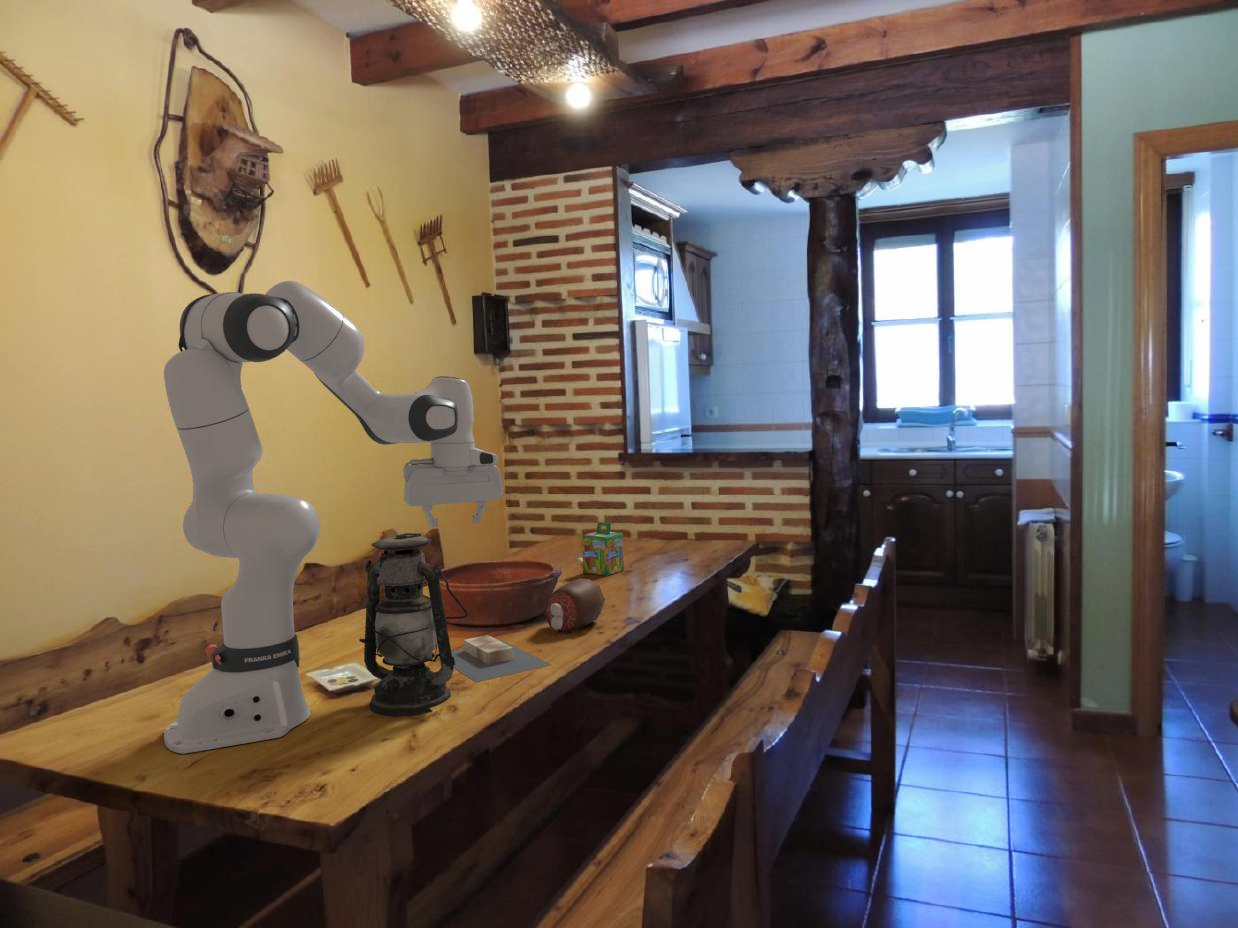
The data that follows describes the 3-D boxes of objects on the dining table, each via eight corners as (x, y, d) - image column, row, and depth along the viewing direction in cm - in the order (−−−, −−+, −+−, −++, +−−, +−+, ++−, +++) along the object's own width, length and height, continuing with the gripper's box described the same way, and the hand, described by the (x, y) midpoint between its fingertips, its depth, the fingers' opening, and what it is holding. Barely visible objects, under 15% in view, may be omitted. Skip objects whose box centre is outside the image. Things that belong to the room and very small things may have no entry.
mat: (476, 685, 164) (476, 682, 164) (432, 657, 182) (432, 654, 182) (551, 667, 172) (551, 664, 172) (503, 642, 191) (502, 640, 191)
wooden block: (487, 652, 174) (463, 639, 184) (488, 664, 174) (464, 650, 184) (512, 647, 177) (487, 634, 187) (513, 659, 177) (488, 645, 187)
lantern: (340, 710, 153) (329, 540, 151) (405, 675, 171) (396, 523, 168) (432, 721, 146) (422, 543, 144) (489, 684, 164) (481, 525, 162)
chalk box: (582, 573, 260) (580, 524, 259) (600, 567, 268) (598, 519, 267) (607, 576, 255) (605, 526, 254) (625, 570, 262) (623, 521, 261)
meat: (578, 641, 191) (576, 595, 190) (532, 637, 196) (529, 592, 194) (616, 616, 209) (614, 574, 208) (573, 613, 214) (571, 572, 213)
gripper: (408, 460, 170) (411, 531, 171) (505, 455, 181) (507, 522, 182) (397, 459, 175) (400, 528, 176) (492, 454, 186) (494, 519, 187)
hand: (455, 525), depth 179 cm, fingers open, 8 cm apart
